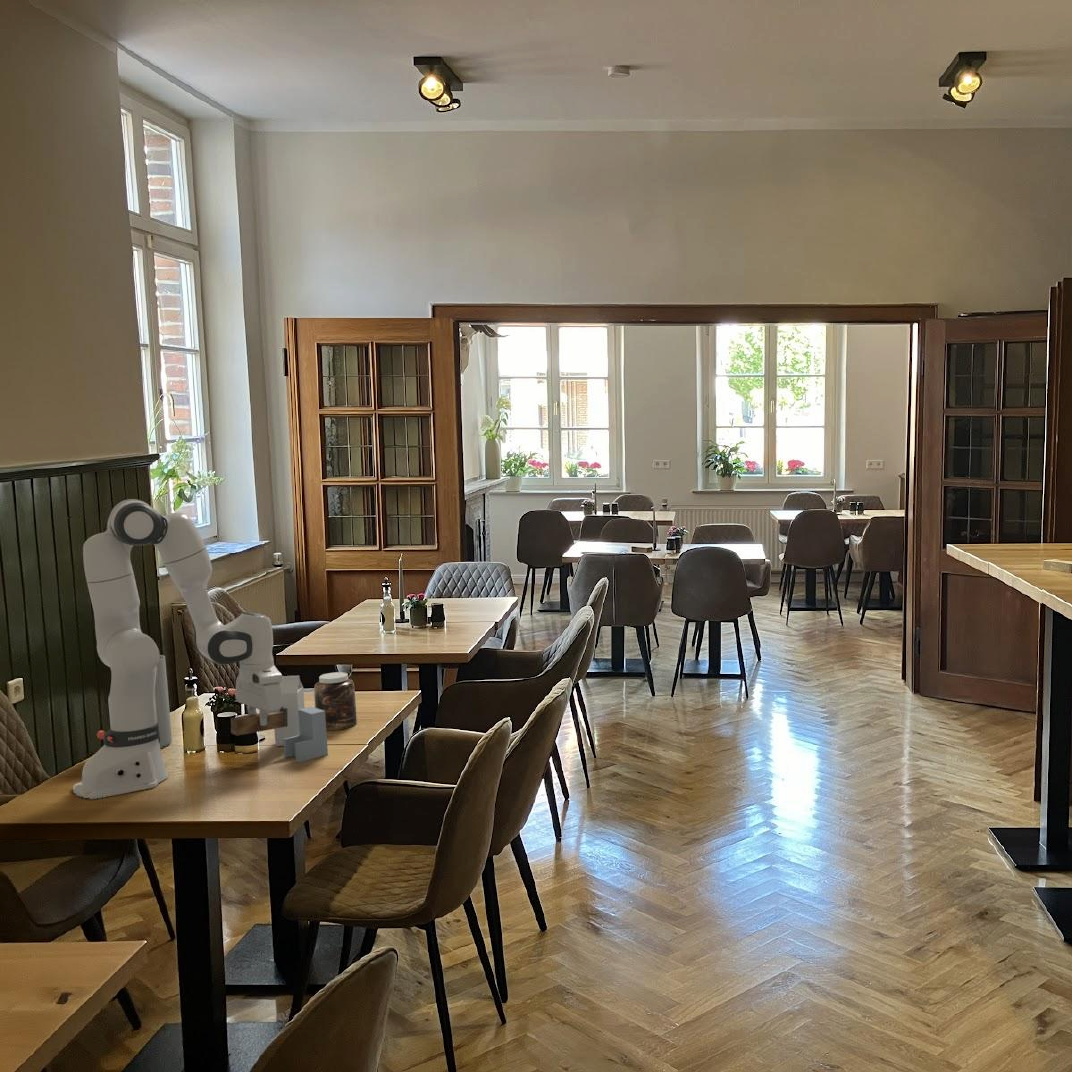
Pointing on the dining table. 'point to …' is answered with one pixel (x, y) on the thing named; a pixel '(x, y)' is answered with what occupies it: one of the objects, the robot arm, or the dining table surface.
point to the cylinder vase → (162, 703)
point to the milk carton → (290, 707)
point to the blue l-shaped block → (308, 736)
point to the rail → (251, 722)
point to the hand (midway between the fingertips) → (258, 723)
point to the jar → (336, 700)
